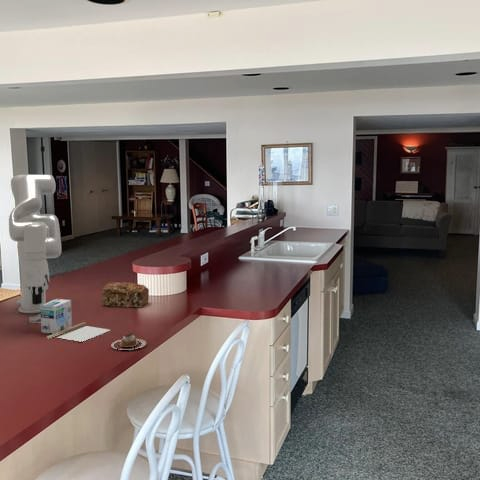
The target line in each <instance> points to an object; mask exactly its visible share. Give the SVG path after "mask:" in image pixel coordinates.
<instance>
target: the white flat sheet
mask: <svg viewBox="0 0 480 480" xmlns="http://www.w3.org/2000/svg"><path fill="white" fill-rule="evenodd" d="M106 332H107V333H109V332H111V329H108V328H101V327H95V326H89V325H85V326H83V327H80V328H77V329H75V330H72V331H70V332H67V333H64V334H62V335H59V336H57V337H56V339H57V338H62V339H67V340H74V341H79V342H81V341H82V342H83V341H86V340H88V339H90V340H92V339H91V338H93V339H94V337H95V338H97V337H99V335H100V336H102V335H105V334H107V333H106ZM104 333H105V334H104ZM96 336H97V337H96ZM62 339H61V340H62ZM67 340H66V341H67ZM88 341H89V340H88ZM86 342H87V341H86ZM83 343H84V342H83Z"/></svg>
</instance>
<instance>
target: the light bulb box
mask: <svg viewBox="0 0 480 480" xmlns="http://www.w3.org/2000/svg"><path fill="white" fill-rule="evenodd" d="M40 306H41V312H40V314H41V319H40V321H41V324H40V326H41V333H42V332H43V333H42V334H49V333H52V334H54V333H57V332H60V331H62V330H65V329H68V328H70V327H73V326H72V325H73V320H72V300H71V299H62V298H55V299H52V300H51V301H48V302H47V301H46V303H45V304H42V305H40ZM52 334H51V335H52Z"/></svg>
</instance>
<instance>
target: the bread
mask: <svg viewBox="0 0 480 480" xmlns="http://www.w3.org/2000/svg"><path fill="white" fill-rule="evenodd" d="M149 291H150V290H149V288H148V287H147V286H145V284H139V283H134V282H116V281H115V282H112V281H110V282H108V283H106V284H105V285H103V287H102V293H101V298H102V300H101V301H102V304H103V306H106V307H108V306H111V307H115V308H116V307H117V308H119V307H120V308H142V307H144V306H145V305H147V304H148V303H149V297H150V295H149V293H150V292H149Z"/></svg>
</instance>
